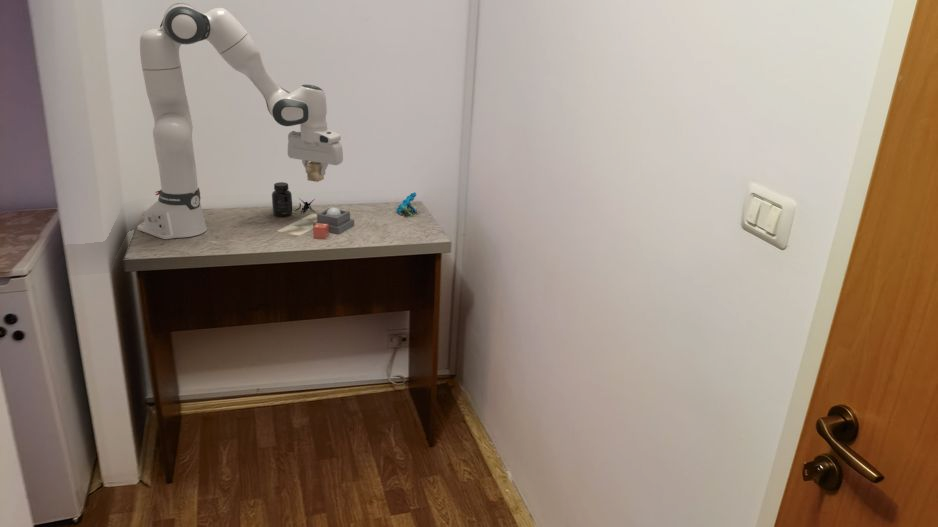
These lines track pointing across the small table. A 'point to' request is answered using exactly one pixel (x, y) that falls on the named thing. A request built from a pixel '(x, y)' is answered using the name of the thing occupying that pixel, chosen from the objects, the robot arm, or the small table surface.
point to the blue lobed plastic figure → (407, 204)
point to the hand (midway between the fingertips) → (315, 173)
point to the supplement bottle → (282, 200)
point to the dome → (333, 212)
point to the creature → (305, 206)
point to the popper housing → (335, 221)
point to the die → (321, 231)
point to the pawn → (314, 171)
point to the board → (300, 225)
